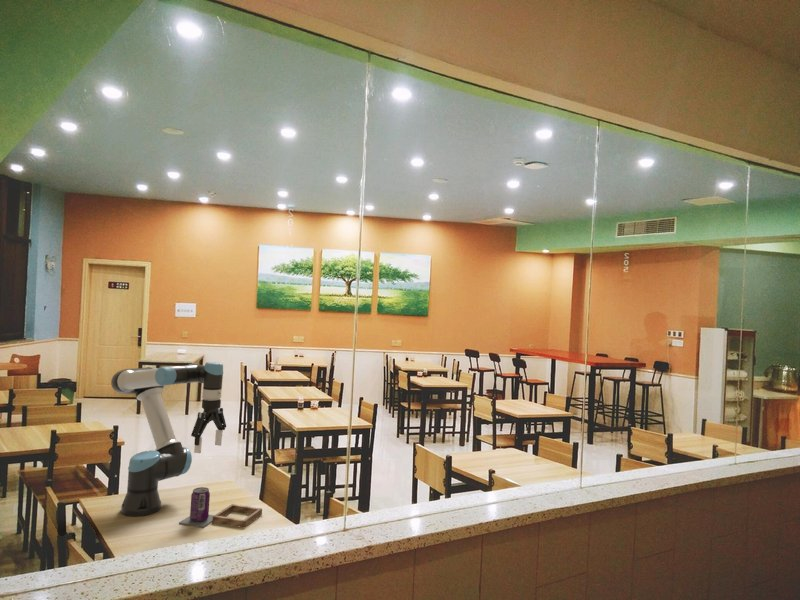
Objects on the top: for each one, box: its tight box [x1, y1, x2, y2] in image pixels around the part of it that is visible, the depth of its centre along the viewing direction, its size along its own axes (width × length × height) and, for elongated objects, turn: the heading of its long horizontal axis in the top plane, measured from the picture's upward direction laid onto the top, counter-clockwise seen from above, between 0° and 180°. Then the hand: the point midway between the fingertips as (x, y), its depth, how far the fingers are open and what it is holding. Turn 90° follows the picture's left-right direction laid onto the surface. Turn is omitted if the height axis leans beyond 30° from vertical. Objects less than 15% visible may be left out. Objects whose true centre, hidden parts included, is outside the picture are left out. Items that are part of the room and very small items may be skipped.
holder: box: [211, 503, 263, 528], centre depth 213 cm, size 14×14×2 cm
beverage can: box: [189, 486, 211, 522], centre depth 209 cm, size 7×7×12 cm
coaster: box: [178, 514, 215, 529], centre depth 209 cm, size 11×11×1 cm
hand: (208, 448), depth 217 cm, fingers open, 13 cm apart
